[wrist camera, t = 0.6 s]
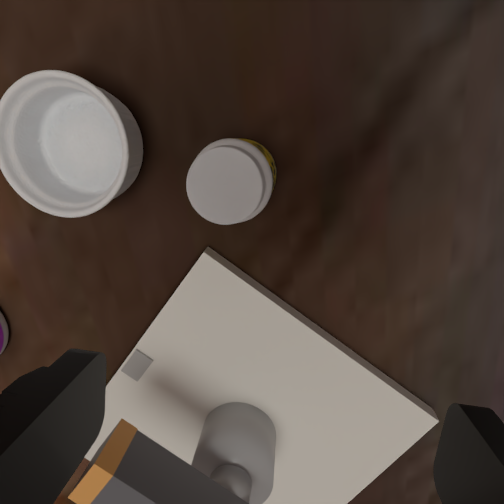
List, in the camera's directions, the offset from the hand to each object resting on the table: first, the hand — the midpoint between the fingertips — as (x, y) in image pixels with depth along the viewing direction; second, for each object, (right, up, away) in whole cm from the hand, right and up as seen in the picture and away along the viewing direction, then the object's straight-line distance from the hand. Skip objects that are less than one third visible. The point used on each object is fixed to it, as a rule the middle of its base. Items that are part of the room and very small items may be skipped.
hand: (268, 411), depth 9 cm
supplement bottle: (-1, +9, +19) cm, 21 cm away
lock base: (-1, -11, +25) cm, 27 cm away
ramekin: (-12, +11, +20) cm, 26 cm away
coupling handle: (-5, -10, +18) cm, 22 cm away
